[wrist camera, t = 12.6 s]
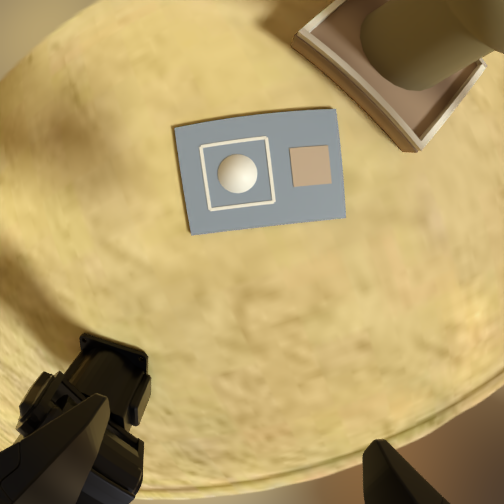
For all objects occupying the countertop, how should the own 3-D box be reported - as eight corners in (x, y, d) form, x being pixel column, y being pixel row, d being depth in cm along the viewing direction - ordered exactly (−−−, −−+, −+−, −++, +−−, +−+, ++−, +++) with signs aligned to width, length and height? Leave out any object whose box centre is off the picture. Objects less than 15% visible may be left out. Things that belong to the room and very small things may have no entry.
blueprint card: (192, 234, 19) (191, 235, 19) (175, 128, 17) (174, 127, 17) (344, 217, 19) (346, 218, 19) (334, 109, 17) (336, 108, 16)
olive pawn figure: (339, 24, 13) (419, -83, 3) (406, -1, 12) (498, -75, 1) (398, 106, 15) (538, 78, 4) (457, 72, 13) (579, 46, 3)
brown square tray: (402, 151, 17) (421, 153, 15) (291, 46, 15) (295, 31, 13) (468, 71, 15) (488, 66, 12) (375, -23, 13) (387, -39, 10)
